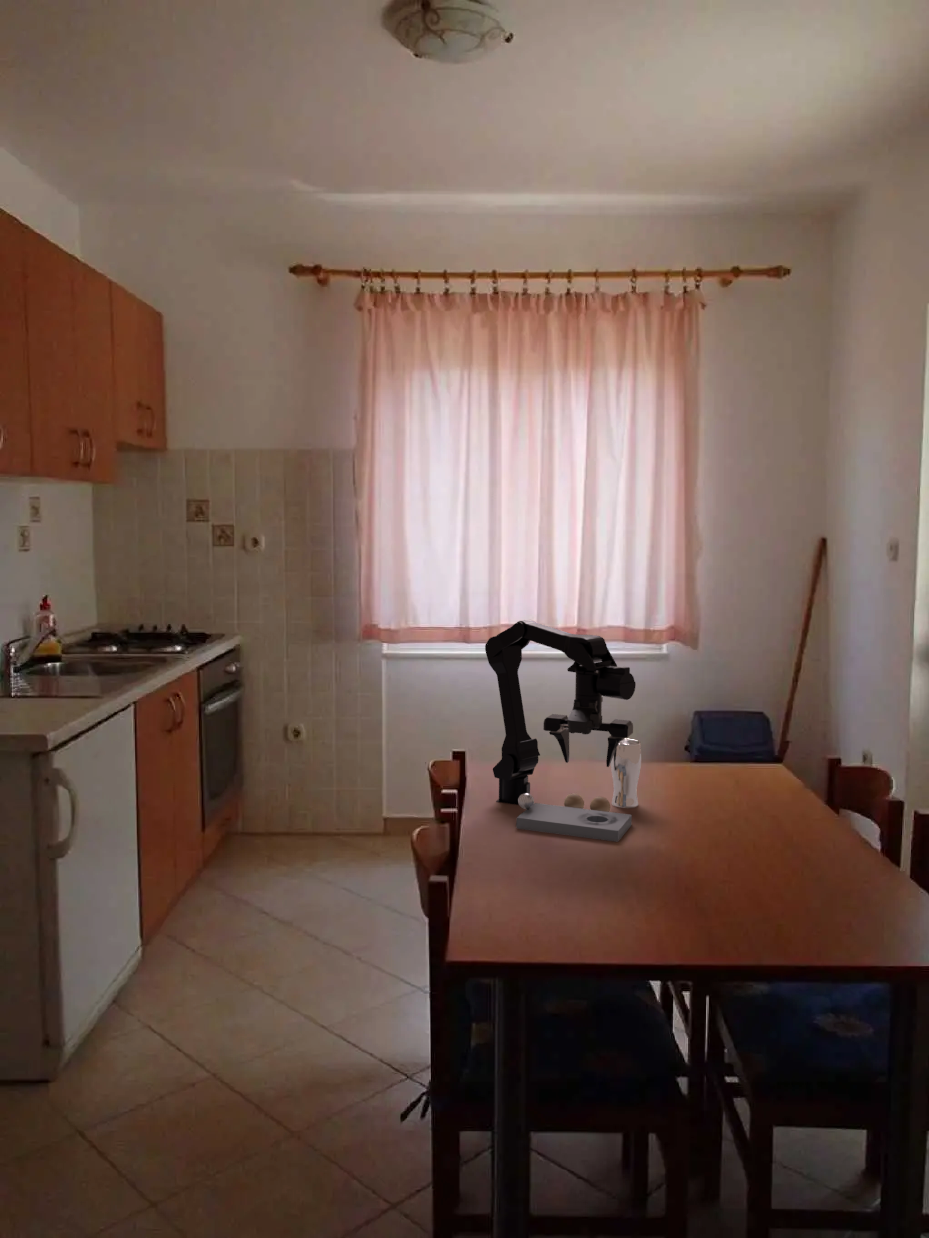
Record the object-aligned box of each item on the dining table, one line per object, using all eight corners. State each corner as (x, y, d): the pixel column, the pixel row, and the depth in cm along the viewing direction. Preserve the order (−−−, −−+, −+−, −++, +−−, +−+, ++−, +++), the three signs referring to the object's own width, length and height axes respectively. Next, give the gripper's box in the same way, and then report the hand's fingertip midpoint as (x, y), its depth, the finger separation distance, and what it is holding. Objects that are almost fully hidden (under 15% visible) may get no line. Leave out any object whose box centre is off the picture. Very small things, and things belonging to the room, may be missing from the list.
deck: (516, 829, 199) (516, 817, 199) (534, 813, 210) (534, 802, 210) (618, 842, 190) (618, 830, 190) (631, 825, 201) (631, 814, 201)
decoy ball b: (587, 817, 207) (587, 798, 207) (592, 812, 211) (593, 792, 211) (607, 820, 205) (607, 800, 205) (612, 814, 209) (612, 795, 209)
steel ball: (515, 794, 204) (529, 796, 203) (521, 790, 207) (536, 791, 206) (515, 810, 205) (530, 811, 203) (522, 805, 208) (536, 807, 206)
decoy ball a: (561, 814, 209) (561, 795, 209) (567, 809, 213) (567, 790, 213) (580, 817, 208) (581, 797, 207) (586, 811, 212) (586, 792, 211)
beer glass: (642, 809, 214) (643, 745, 212) (611, 809, 214) (613, 744, 212) (637, 800, 221) (638, 738, 219) (607, 800, 221) (609, 738, 219)
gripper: (535, 696, 199) (534, 768, 200) (622, 703, 192) (620, 777, 193) (551, 688, 209) (550, 757, 211) (634, 694, 202) (632, 765, 203)
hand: (587, 764), depth 204 cm, fingers open, 9 cm apart
